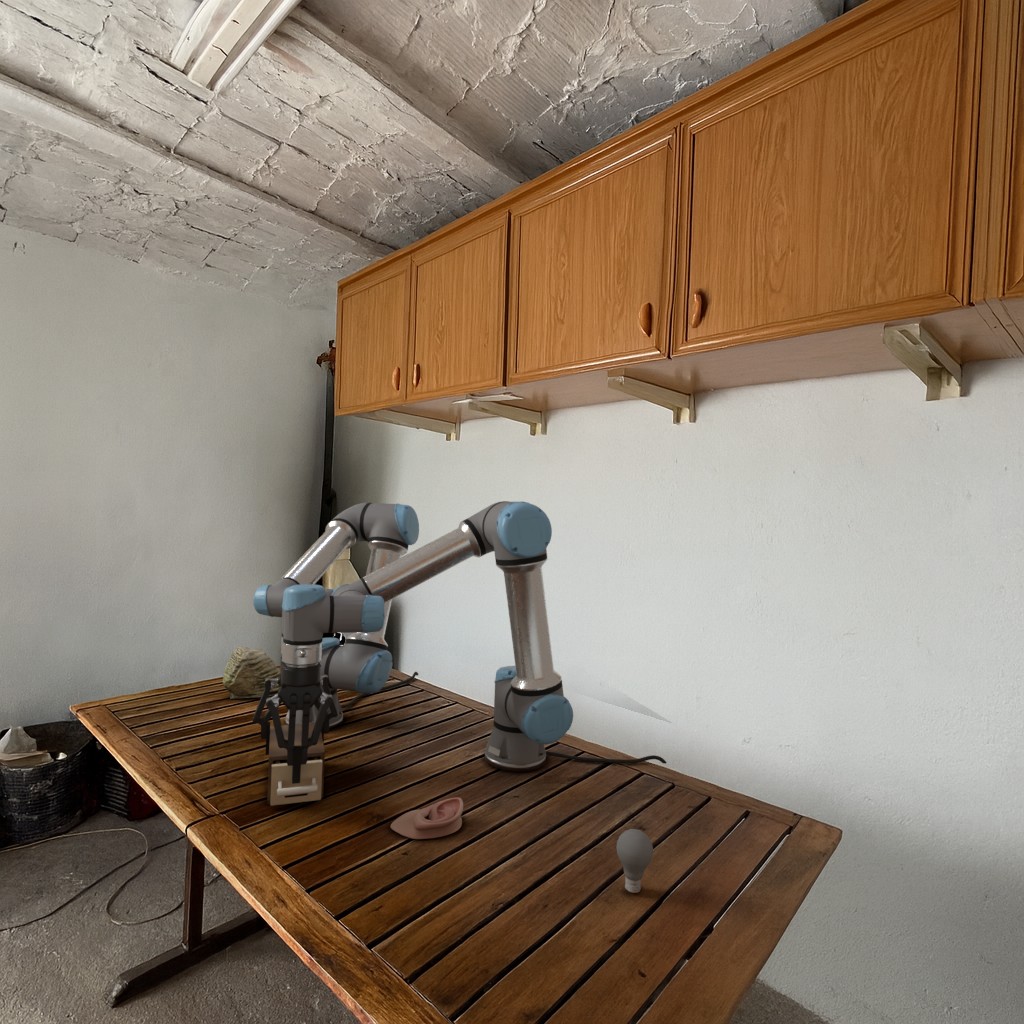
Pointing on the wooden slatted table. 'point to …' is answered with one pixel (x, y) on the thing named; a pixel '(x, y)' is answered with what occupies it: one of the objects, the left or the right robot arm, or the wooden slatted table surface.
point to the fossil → (249, 673)
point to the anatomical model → (431, 820)
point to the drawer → (300, 791)
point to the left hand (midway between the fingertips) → (294, 749)
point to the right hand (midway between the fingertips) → (295, 780)
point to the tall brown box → (281, 753)
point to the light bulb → (634, 857)
